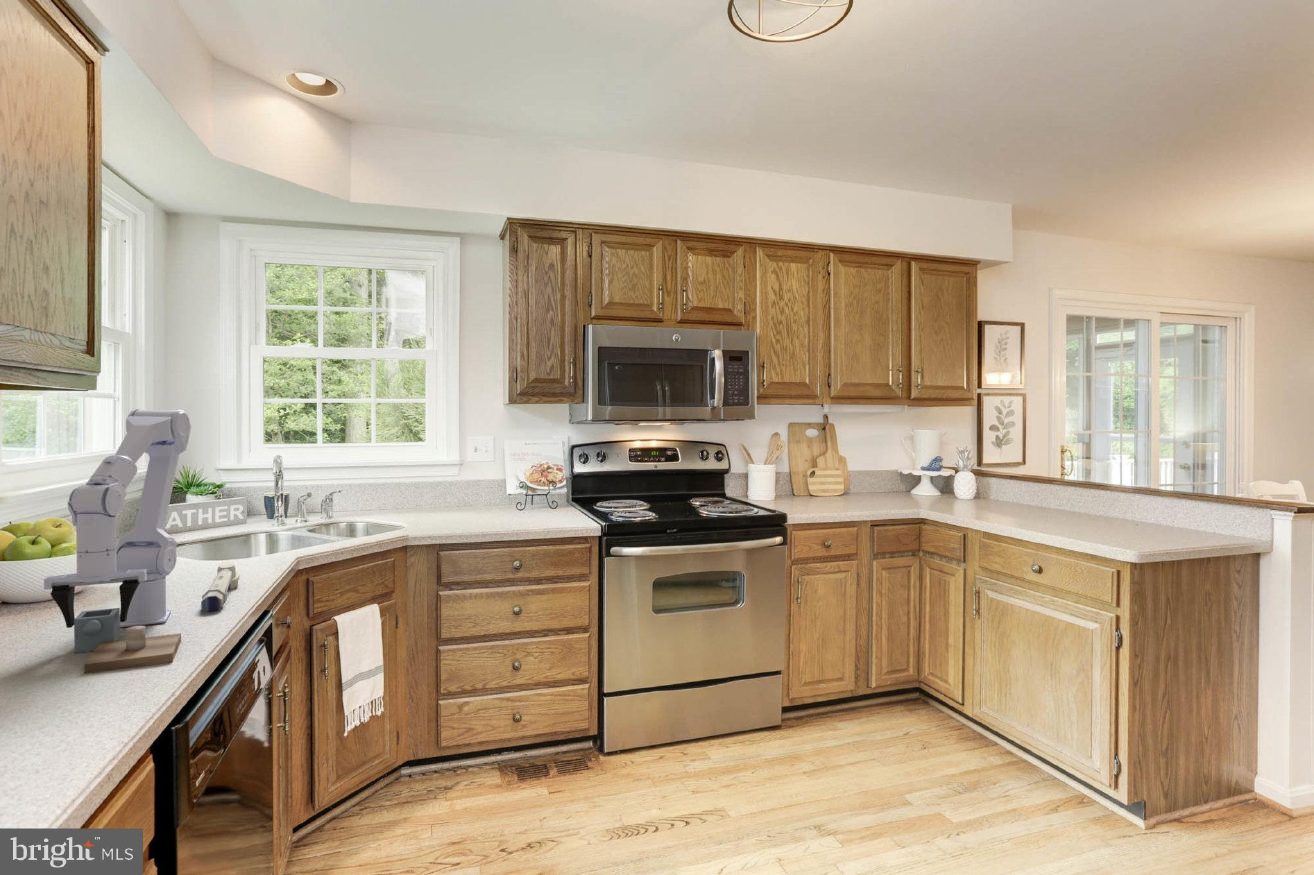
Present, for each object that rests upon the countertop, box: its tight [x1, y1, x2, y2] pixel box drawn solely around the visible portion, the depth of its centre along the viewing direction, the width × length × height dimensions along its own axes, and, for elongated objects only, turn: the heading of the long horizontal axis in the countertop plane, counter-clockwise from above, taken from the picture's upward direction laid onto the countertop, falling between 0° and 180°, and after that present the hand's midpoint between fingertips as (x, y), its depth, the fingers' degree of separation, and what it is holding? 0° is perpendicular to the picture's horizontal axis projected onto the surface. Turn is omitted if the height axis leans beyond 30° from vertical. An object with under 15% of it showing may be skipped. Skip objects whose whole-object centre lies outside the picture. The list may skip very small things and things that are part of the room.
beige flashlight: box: [200, 562, 241, 613], centre depth 160 cm, size 5×7×25 cm
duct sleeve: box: [73, 607, 121, 653], centre depth 126 cm, size 8×6×6 cm
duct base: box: [83, 625, 182, 674], centre depth 122 cm, size 12×12×5 cm
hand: (97, 623), depth 126 cm, fingers open, 7 cm apart
